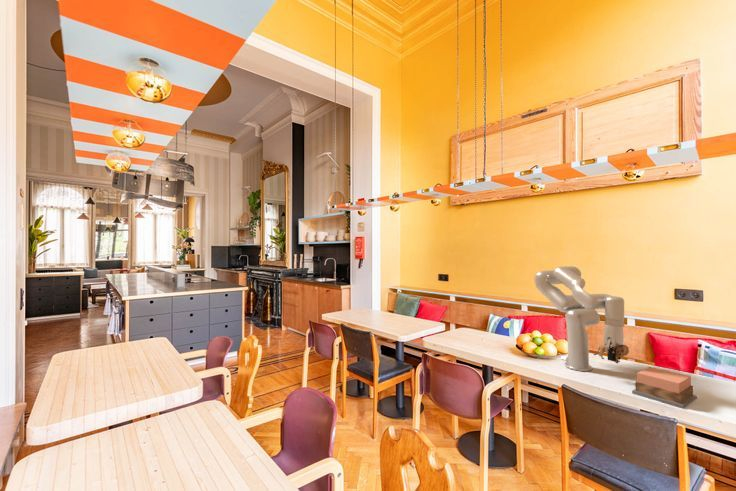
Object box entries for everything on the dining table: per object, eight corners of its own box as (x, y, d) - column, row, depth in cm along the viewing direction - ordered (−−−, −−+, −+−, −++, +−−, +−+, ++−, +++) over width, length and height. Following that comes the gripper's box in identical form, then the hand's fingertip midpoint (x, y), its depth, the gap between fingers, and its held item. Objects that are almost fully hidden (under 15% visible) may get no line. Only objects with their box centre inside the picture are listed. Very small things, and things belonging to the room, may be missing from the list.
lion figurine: (630, 363, 157) (630, 344, 157) (626, 366, 154) (626, 346, 154) (595, 354, 169) (595, 337, 169) (591, 357, 166) (591, 339, 166)
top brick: (637, 381, 147) (637, 372, 147) (650, 375, 154) (650, 366, 154) (679, 393, 135) (678, 383, 135) (691, 385, 142) (690, 376, 142)
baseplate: (632, 393, 147) (632, 390, 147) (647, 384, 156) (647, 382, 156) (683, 408, 133) (683, 405, 133) (697, 398, 141) (697, 395, 141)
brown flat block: (635, 390, 147) (635, 381, 147) (649, 383, 155) (649, 374, 155) (680, 404, 134) (680, 394, 134) (693, 395, 142) (692, 385, 142)
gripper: (613, 318, 168) (613, 354, 168) (597, 322, 159) (596, 360, 159) (631, 321, 161) (630, 358, 162) (615, 326, 153) (614, 365, 153)
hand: (614, 359), depth 161 cm, fingers closed on lion figurine, 4 cm apart
